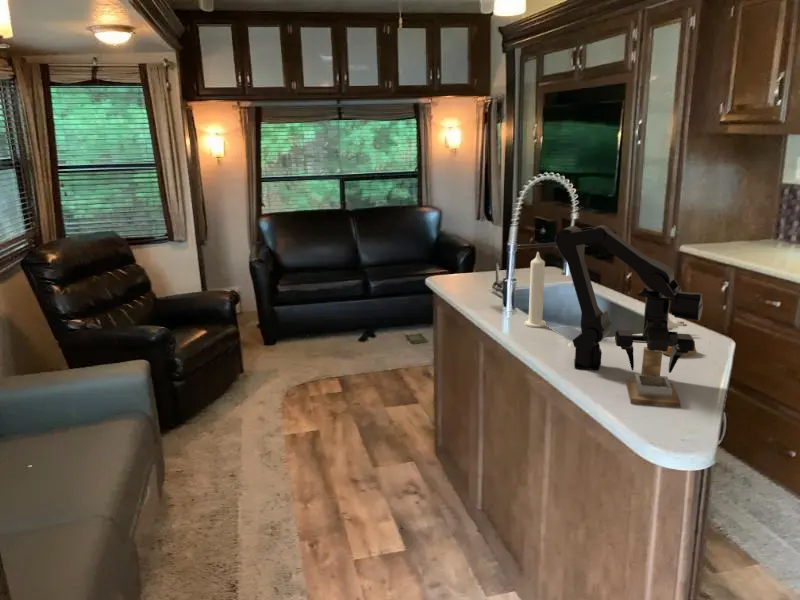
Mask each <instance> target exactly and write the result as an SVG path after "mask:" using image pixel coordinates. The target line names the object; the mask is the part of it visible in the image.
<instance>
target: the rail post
mask: <svg viewBox="0 0 800 600" xmlns="http://www.w3.org/2000/svg"><path fill="white" fill-rule="evenodd" d="M642 353H643V354H642V361H641V362H642V363H641V373H640V375H653V376H661V369H662V361H663V353H662V351H657V350H654V351H650V350H648V349H647V346H643V351H642Z"/></svg>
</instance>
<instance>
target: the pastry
mask: <svg viewBox="0 0 800 600" xmlns="http://www.w3.org/2000/svg"><path fill="white" fill-rule="evenodd" d="M671 350H672V346H668V350H667V351H665V352H663V351H662V354H663V355H666V356H669V357H670V356H671ZM695 354H697V347H696V346H695V348H694V351H688V353H684V354H683V355H681V356H680V357H689V356H693V355H695Z"/></svg>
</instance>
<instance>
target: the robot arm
mask: <svg viewBox="0 0 800 600" xmlns="http://www.w3.org/2000/svg"><path fill="white" fill-rule="evenodd" d="M554 242H555V245H556V247H557V250H558V251H559V254H560V255H561V256H562V258H563V259H564V260H565V261H566V264H567V267H568V269H569V273H570V277H571V280H572V284H573V287H574V291H575V295H576V297H577V301H578V305H579V308H580V311H581V312H580V313H581V314H580V315H581V317H580V331H581V333H580V334H578V335H577V336H576V337H575V338H573V340H572V343H573V347H574V348H575V352H574V359H573V363H574V364H573V365H574V369H580V370H593V371H599V370H600V366H601V364H602V354H603V353H602V348H601V346H600V342H601V341H603V339H605V338H606V337H607V336H608V335H609V333H610V331H611V326H612V325H613V324H612V322H611V321H610V319H609V312H608V311H602V310H601V309H600V308H599V305H598V301H597V298H596V294H595V292H594V287H593V284H592V281H591V278H590V273H589V270H588V266H587V264H586V260H585V249H586V244H587V245H588V244H592V243H598V244H599V245H600V246H602V247H603V248H604V249H606V250H607V251H609V253H611V254H613V256H615V257H617V258H618V260H621V261H622V262H623V263H625V264H626V265H627V266H628V267H630V268H631V269H632V270H633V271H634V272H635V273H636V275H637V276H638V278H639V279H640V280H641V281H642V282H643V284H645V285H646V286H644V288H642V290H641V291H639V292H638V293H637V296H638V297H641V298H645V303H644V312H643V313H644V314H643V326H642V335H637V334H633V332H632V330H622V329H621V330H620V329H618V330H616V331H615V334H614V341H615V345H616V347H620V349H621V350H624V351H625V352H626V354H627V357H628V360H629V361H628V362H629V366H630V368H631V371H634V367H635V364H634V363H635V362H634V361H635V360H634V359H635V358H634V346H633V345H634V344H635V343H637V344H646V347H647V349H648V350H650V351H654V350H657V351H663V352H665V351H667V350H668V346H672V350H671V356H669V361H668V362H669V363H668V373H670V374H671V373H672V372H673V370H674V368H675V366H676V364H677V362H678V360H679V359H680V356H681V355H683V354H684V353H688V351H694V348H695V347H696V344H695V340H694V338H693V337H692V335H691V334H690V333H678V331H670V330H669V331H668V327H667V326H668V317H669V313H671V315H672V316H674V318H678V319H683V320H691V321H701V317H702V313H703V307H704V303H703V293H701V292H691V291H690V292H688V291H683V290H682V288H681V286H680V285H679V283H678V282H677V280H676V279H675V272H674V269H672V267H671V266H669V265H668V264H665V263H663V262H661V261H660V260H658V259H654V258H652V257H651V258H650V257H649V256H646V255H644V254H643V253H642V252H641V251H639V250H638V249H637V248H636V247H634V246H632V245H631V244H630V243H629V242H627V241H626V240H625V239H623V238H622V237H620V236H619V235H618V234H616V233H615V232H614V231H612V230H611V229H610V228H609V227H608V226H606V225H602V224H601V225H599V226H589V227H588V226H587V227H582V228H580V227H578V226H575V225H570V226H568V227H565V228H563V229H561V230H559V231H558V232H557V233H556V235H555V236H554ZM633 343H634V344H633Z"/></svg>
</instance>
